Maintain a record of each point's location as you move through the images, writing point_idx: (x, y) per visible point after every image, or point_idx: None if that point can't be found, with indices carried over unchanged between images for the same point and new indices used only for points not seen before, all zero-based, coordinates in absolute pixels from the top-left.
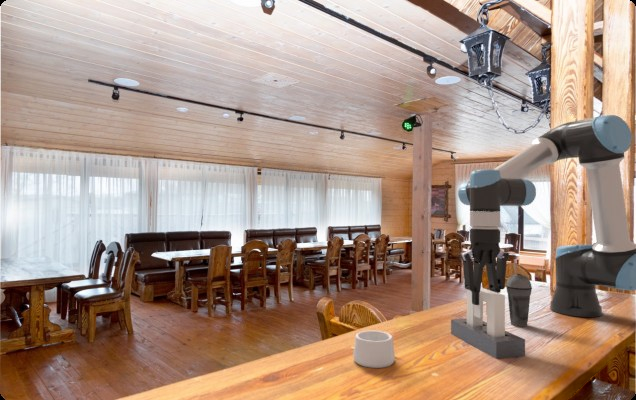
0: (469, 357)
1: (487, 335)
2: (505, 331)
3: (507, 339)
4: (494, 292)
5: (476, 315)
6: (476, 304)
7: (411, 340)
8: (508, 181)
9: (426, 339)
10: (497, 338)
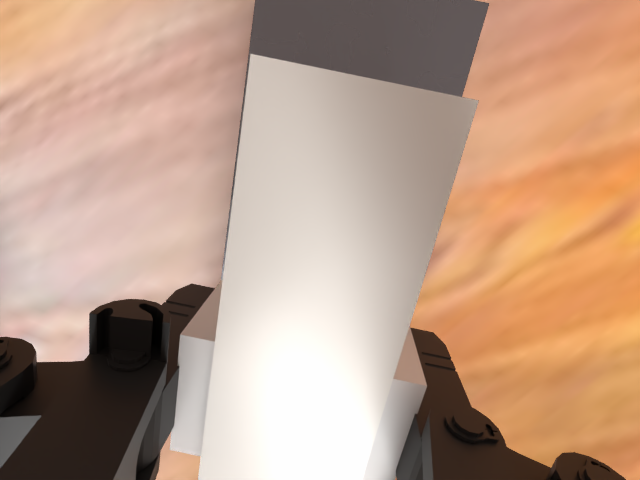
0: (564, 107)
1: None
2: None
3: (372, 13)
4: (254, 291)
5: None
6: (423, 334)
7: (600, 397)
8: None
9: (527, 380)
10: (417, 60)
